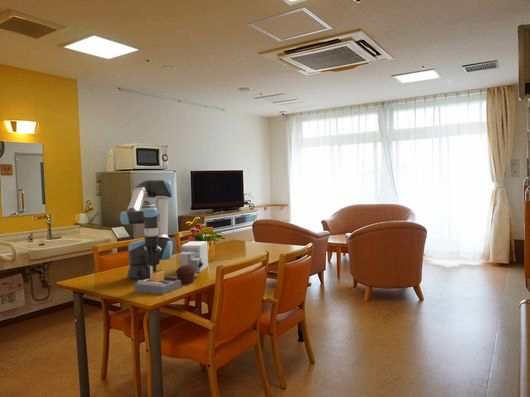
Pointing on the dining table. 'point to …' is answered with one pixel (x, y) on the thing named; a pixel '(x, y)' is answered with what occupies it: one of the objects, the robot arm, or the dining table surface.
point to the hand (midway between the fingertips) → (153, 277)
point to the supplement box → (197, 251)
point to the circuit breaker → (190, 260)
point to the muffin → (185, 274)
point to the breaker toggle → (157, 276)
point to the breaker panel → (156, 288)
